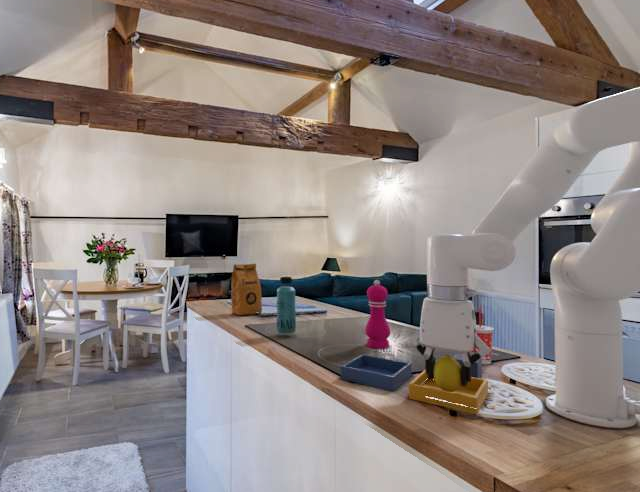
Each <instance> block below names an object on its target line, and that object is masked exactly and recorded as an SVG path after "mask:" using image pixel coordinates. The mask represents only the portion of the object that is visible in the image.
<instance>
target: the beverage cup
mask: <svg viewBox="0 0 640 492" xmlns="http://www.w3.org/2000/svg"><path fill="white" fill-rule="evenodd" d="M476 329H477V335H478V336H479V337H480V339H481V340H482V341H483V342H484V343H485V344H486V345H487V346H488V347H489V348H490V352H489V353H488V354H487V355H485V356H484V357H482V358H481V360H482V365H490V364H492V355H493V354H492V353H493V336H494V333H495V332H494V331H495V328H494V327H492V326H488V325H483V324H482V308H481V307H479V308H478V324H476ZM478 351H479V348H478V347H477V346H476V347H473V350H472V351H470V353H471V356H472V355H473V354H474V353H476V352H478Z"/></svg>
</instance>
